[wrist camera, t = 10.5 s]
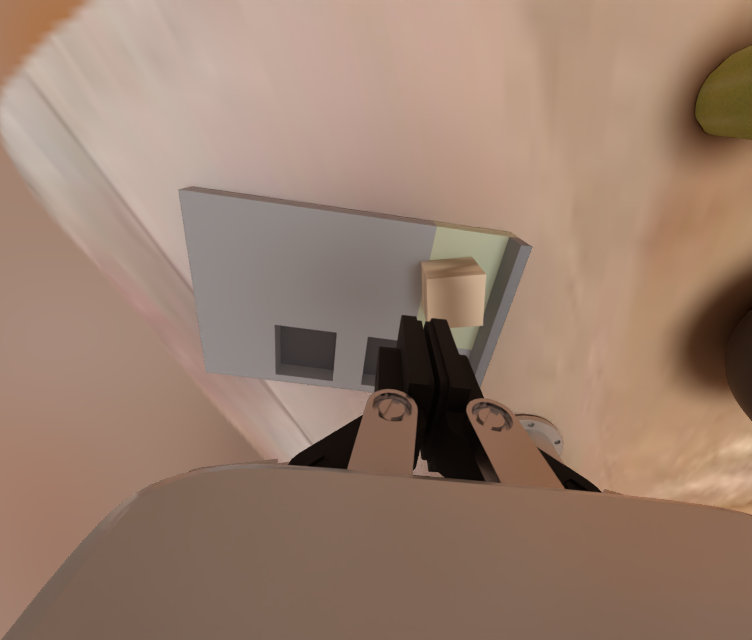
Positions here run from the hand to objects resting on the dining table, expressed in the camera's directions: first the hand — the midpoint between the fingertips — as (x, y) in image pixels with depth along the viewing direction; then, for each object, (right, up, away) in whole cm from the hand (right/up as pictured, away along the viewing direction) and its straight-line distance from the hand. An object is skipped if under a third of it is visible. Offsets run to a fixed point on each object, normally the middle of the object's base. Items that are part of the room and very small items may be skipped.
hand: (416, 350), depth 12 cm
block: (+6, +5, +20) cm, 22 cm away
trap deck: (-5, +3, +25) cm, 25 cm away
